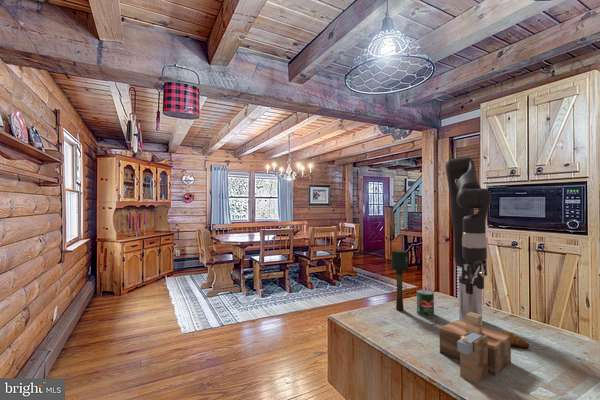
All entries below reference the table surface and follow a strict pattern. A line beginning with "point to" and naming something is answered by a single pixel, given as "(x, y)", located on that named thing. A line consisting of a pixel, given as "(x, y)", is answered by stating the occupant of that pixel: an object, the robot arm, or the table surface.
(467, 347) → the drawer
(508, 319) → the table surface
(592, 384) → the table surface
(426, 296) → the canned tomato
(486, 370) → the toolbox
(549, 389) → the table surface
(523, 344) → the croissant
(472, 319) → the lid
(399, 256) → the stick grenade
